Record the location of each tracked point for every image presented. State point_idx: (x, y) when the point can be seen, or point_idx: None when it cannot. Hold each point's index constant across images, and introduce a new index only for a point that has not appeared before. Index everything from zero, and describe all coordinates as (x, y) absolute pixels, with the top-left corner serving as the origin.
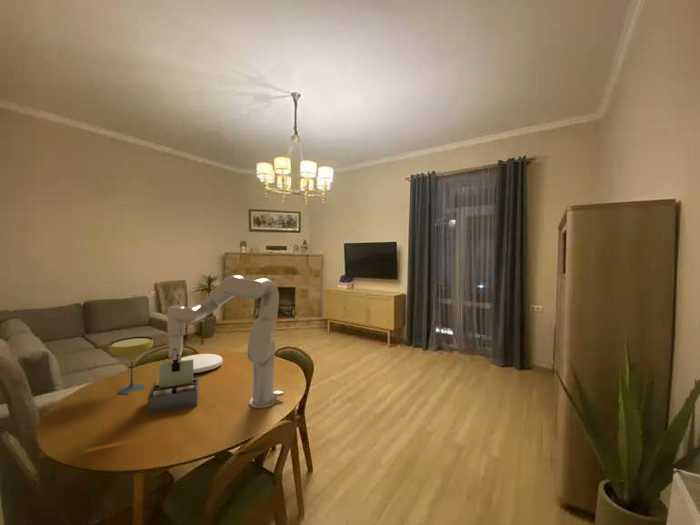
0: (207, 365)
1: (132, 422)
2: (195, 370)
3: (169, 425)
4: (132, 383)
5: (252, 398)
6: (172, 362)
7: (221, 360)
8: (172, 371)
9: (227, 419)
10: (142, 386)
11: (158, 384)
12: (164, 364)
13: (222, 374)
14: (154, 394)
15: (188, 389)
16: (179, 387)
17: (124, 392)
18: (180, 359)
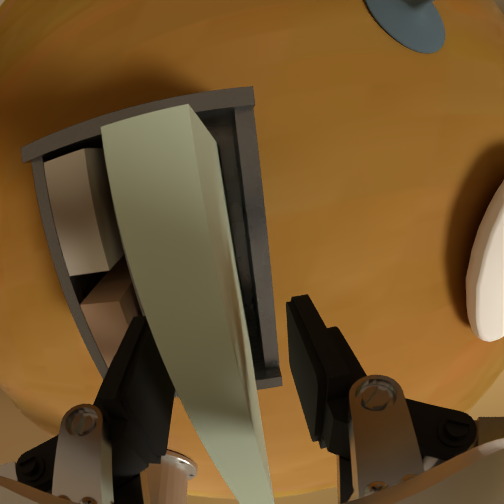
0: (481, 314)
1: (60, 103)
2: (474, 270)
3: (25, 260)
4: (421, 3)
5: (168, 457)
6: (61, 429)
7: (493, 340)
8: (137, 322)
9: (71, 403)
10: (422, 44)
11: (253, 123)
12: (131, 247)
13: (420, 356)
14: (48, 173)
15: (106, 358)
16: (117, 315)
17: None
18: (320, 440)
